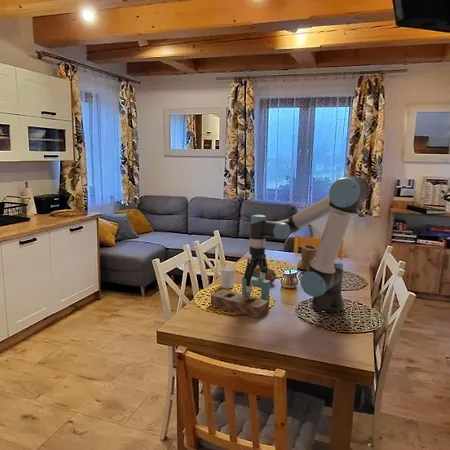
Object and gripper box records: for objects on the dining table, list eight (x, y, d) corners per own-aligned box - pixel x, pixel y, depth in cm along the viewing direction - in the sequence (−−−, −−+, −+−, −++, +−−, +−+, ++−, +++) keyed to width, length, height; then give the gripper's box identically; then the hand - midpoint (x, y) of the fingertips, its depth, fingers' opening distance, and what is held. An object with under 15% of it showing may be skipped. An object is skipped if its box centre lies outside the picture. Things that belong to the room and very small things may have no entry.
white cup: (232, 289, 216) (233, 271, 215) (218, 288, 218) (218, 270, 216) (235, 284, 224) (235, 267, 222) (221, 283, 226) (221, 266, 224)
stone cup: (314, 272, 250) (316, 248, 248) (295, 270, 254) (296, 246, 251) (317, 265, 265) (318, 243, 262) (298, 263, 268) (300, 241, 265)
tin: (249, 281, 230) (249, 267, 229) (250, 279, 233) (251, 265, 232) (274, 285, 225) (275, 270, 223) (276, 283, 228) (276, 269, 226)
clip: (269, 301, 201) (270, 280, 199) (265, 303, 198) (266, 282, 196) (245, 294, 209) (246, 275, 207) (241, 297, 205) (242, 277, 203)
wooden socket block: (268, 311, 188) (269, 301, 187) (257, 318, 180) (258, 307, 179) (222, 298, 202) (222, 289, 201) (210, 304, 194) (210, 295, 193)
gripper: (262, 241, 210) (261, 280, 214) (237, 250, 190) (235, 293, 194) (275, 243, 206) (273, 283, 210) (250, 252, 186) (249, 297, 190)
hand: (255, 288), depth 202 cm, fingers open, 12 cm apart
